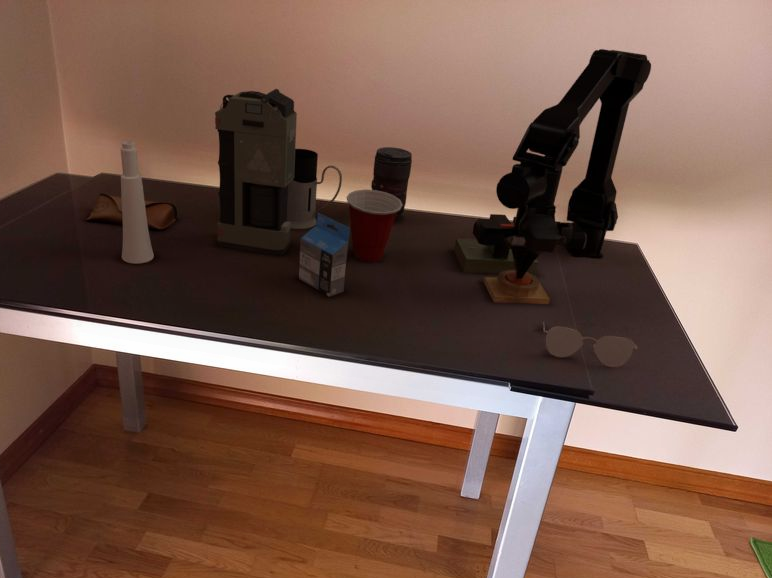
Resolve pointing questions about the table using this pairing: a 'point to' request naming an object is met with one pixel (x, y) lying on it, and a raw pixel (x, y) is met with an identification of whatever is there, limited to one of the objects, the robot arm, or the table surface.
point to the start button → (518, 279)
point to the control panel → (484, 258)
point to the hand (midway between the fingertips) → (519, 277)
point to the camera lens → (392, 173)
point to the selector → (503, 248)
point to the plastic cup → (371, 222)
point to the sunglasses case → (111, 212)
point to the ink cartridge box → (324, 256)
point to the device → (255, 170)
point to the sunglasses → (606, 348)
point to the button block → (516, 290)
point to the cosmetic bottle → (133, 209)
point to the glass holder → (305, 190)
